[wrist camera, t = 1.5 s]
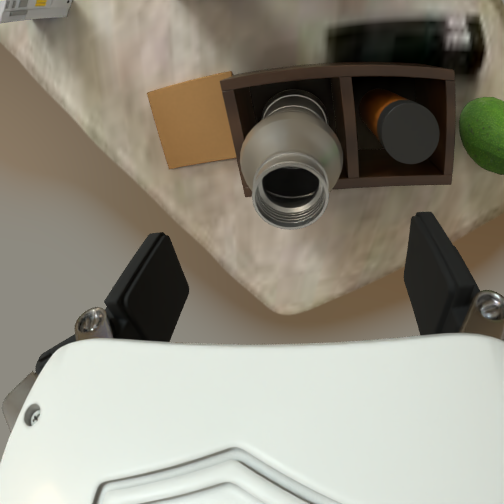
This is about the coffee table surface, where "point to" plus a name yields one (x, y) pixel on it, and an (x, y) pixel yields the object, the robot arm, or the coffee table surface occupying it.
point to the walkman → (32, 9)
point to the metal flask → (291, 160)
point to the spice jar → (400, 125)
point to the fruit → (484, 132)
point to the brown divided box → (364, 160)
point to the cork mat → (193, 121)
